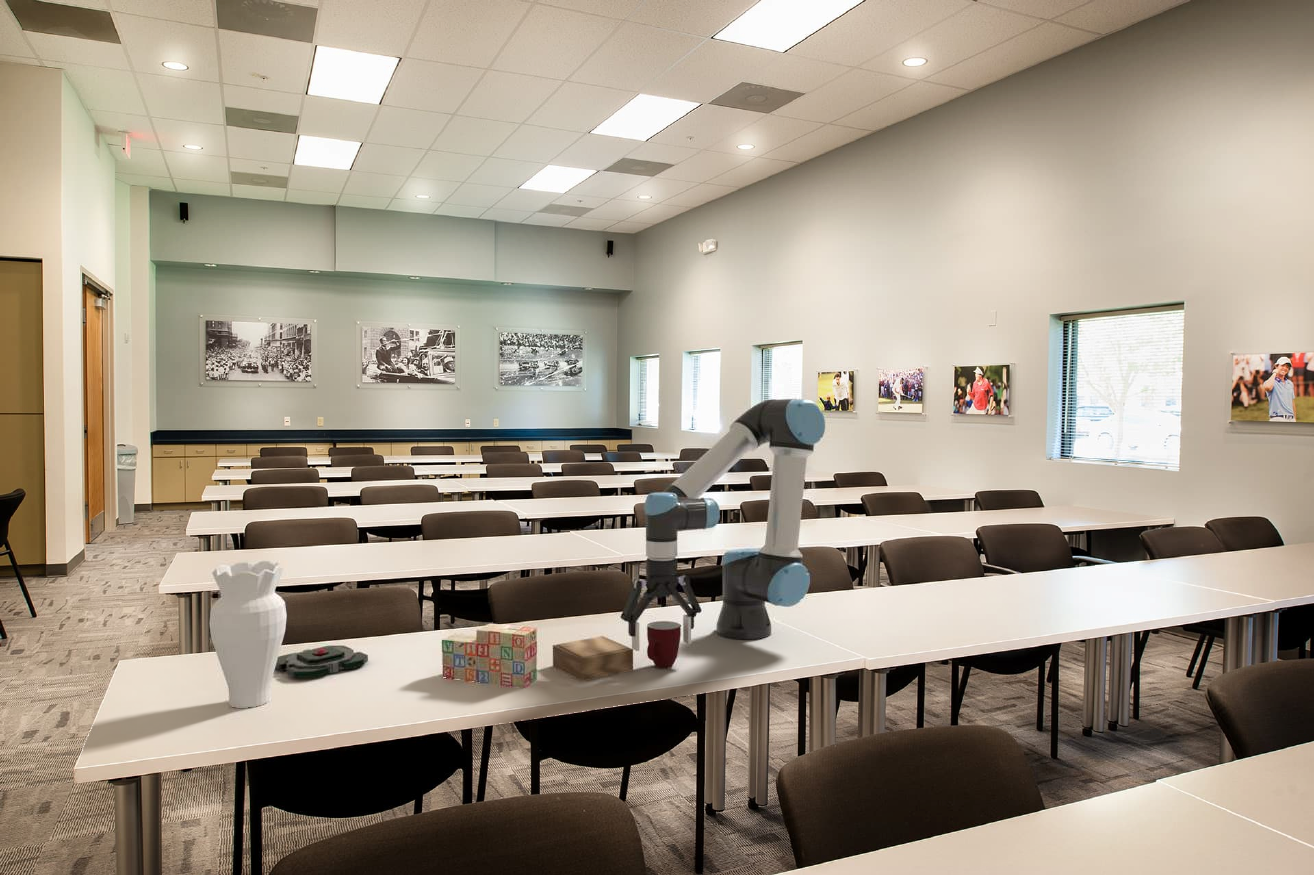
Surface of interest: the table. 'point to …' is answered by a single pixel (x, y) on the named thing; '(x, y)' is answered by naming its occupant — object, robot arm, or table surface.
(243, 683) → the vase
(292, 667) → the four-lobed dark green device
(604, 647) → the walnut block
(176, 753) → the table surface
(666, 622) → the mug
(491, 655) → the stack of blocks
